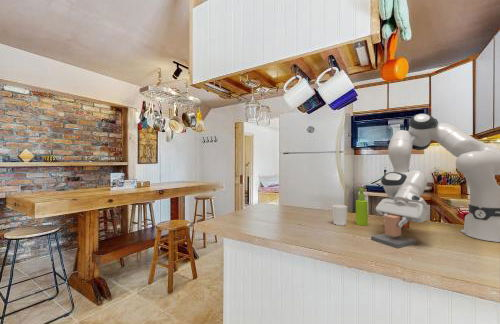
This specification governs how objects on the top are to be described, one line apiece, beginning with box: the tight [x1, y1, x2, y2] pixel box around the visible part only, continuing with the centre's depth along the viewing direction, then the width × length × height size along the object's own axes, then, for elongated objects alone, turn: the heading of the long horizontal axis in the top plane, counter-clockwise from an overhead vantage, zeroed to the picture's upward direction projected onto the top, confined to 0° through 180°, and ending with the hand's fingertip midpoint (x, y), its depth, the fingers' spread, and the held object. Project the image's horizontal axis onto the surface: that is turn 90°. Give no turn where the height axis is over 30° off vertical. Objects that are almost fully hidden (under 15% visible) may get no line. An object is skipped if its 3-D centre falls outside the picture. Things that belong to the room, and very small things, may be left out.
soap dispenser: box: [355, 187, 369, 227], centre depth 134 cm, size 6×7×20 cm
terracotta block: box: [383, 215, 402, 237], centre depth 105 cm, size 4×4×8 cm
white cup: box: [331, 204, 348, 226], centre depth 135 cm, size 8×8×10 cm
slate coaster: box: [370, 233, 416, 249], centre depth 106 cm, size 12×12×2 cm
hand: (391, 224), depth 105 cm, fingers closed on terracotta block, 4 cm apart
